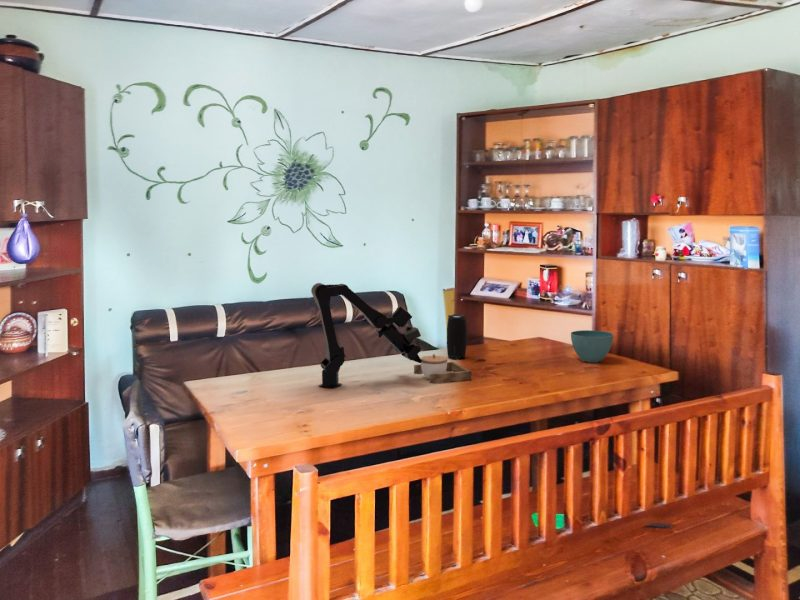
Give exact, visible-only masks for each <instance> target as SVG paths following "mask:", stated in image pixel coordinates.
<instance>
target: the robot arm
mask: <svg viewBox="0 0 800 600" xmlns="http://www.w3.org/2000/svg"><path fill="white" fill-rule="evenodd" d="M311 295H312V297H313V299H314V302H315V304H316V306H317V307H318V311H319V316H320V321H321V326H322V331H323V334H324V338H325V357H324V358H323V360H321V362H319V365H320V367H321V369H322V371H321V380H322V381H321V384H319V385H318V387H319V386H324V387H323V388H326V387H330V388H329V389H334V387H335V388H337V387H336V386H338V387H340V386H342V385H341V384H342V383H339V381H340V380H339V372H340V369H341V367H342V366H343V364H344V363H345V358H347V356H346V355H345V348H344V346H343V345H342V344H340V343H338V340H337V335H336V331H335V325H334V321H333V316H332V312H331V306H330V305H331V298H332V297H337V296H342V297H343V298H344V299H345V300H346V301H348V303H350V304H351V305H353V307H355V308H356V310H358V311H359V312H360V313H361V314H362V316H364V317H365V319H366V321H367V322H368V323H369V324H370V326H373V327H374V328H377V329H376V331H375V332H376V334H375V335H376V337H377V338H380V339H381V337H382V336H383V338H385V339H386V340H387V341H388V342H389V344H390V345H392V350H394V352H396V353H398V354H399V352H400V353H401V356H402V357H404V358H406V359H408V360H409V361H412V362H415V363H418V364H421V362H422V361H421V357H420V355H419V353H420V352H421V351H422V347H421V346H420V345H418V343H417V344H416V343H413V341H414V340H416V339H418V338H420V337H421V333H420V330H419V327H415V326H412V327H410V326H406V325H407V324H408V323H410V320H412V318H413V316H412V314H411V313H410V312H409V311H407V310H405V309H404V308H403V307H402V306H399V305H398V307H396V309H395V310H394V311H393V313H392V314H391V315H388V314H383V313H382V312H381V311H378V309H375V308H373V307H371V306H370V305H369V304H367V302H365V301H364V300H363V299H362V298H361V297H360V296H359V295H357V294H356V293H355V292H354V291H353V290H352V289H351V288H350V287H349V286H348V285H346V284H344V283H339V284H338V283H337V284H324V283H321V282H317V283H315V284H313V286H312V287H311ZM405 326H406V327H405ZM400 328H402V329H403V328H404V329H405V330H404V332H403V333H402V332H401V331H400V330H399V329H400ZM339 385H340V386H339Z"/></svg>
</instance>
